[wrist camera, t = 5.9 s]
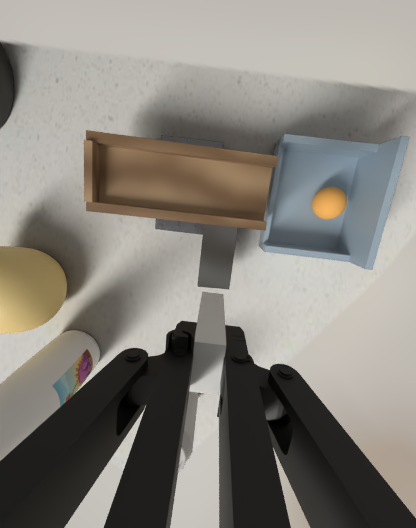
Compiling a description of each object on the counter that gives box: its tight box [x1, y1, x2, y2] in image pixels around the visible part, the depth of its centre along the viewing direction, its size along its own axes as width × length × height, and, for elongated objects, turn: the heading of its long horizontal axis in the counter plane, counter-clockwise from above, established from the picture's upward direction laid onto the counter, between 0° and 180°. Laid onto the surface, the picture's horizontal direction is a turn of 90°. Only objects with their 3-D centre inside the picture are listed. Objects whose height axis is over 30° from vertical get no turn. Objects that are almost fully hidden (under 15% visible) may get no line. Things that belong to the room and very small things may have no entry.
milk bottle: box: [0, 330, 100, 461], centre depth 31 cm, size 8×8×20 cm
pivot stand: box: [155, 135, 223, 235], centre depth 32 cm, size 12×8×4 cm, turn 174°
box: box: [259, 134, 410, 270], centre depth 30 cm, size 14×11×8 cm
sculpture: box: [0, 246, 67, 333], centre depth 33 cm, size 11×12×11 cm
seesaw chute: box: [84, 130, 278, 289], centre depth 29 cm, size 16×20×3 cm
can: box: [178, 392, 198, 472], centre depth 36 cm, size 8×8×12 cm
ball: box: [312, 187, 347, 219], centre depth 31 cm, size 4×4×4 cm
